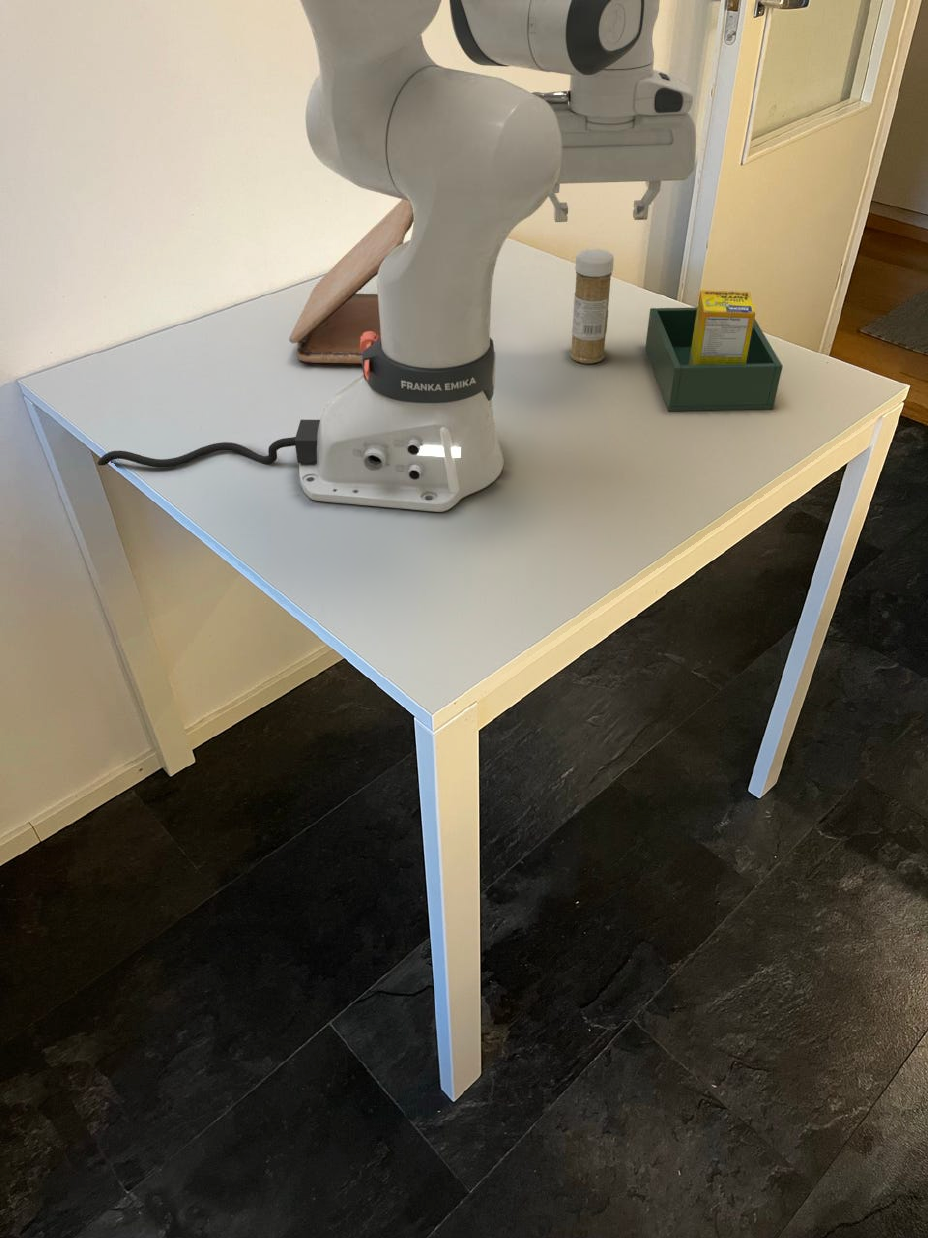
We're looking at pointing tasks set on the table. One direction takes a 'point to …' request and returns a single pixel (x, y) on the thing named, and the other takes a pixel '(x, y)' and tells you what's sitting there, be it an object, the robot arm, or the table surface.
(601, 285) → the sprinkles bottle
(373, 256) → the case
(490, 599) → the table surface
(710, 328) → the supplement box
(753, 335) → the box
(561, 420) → the table surface
